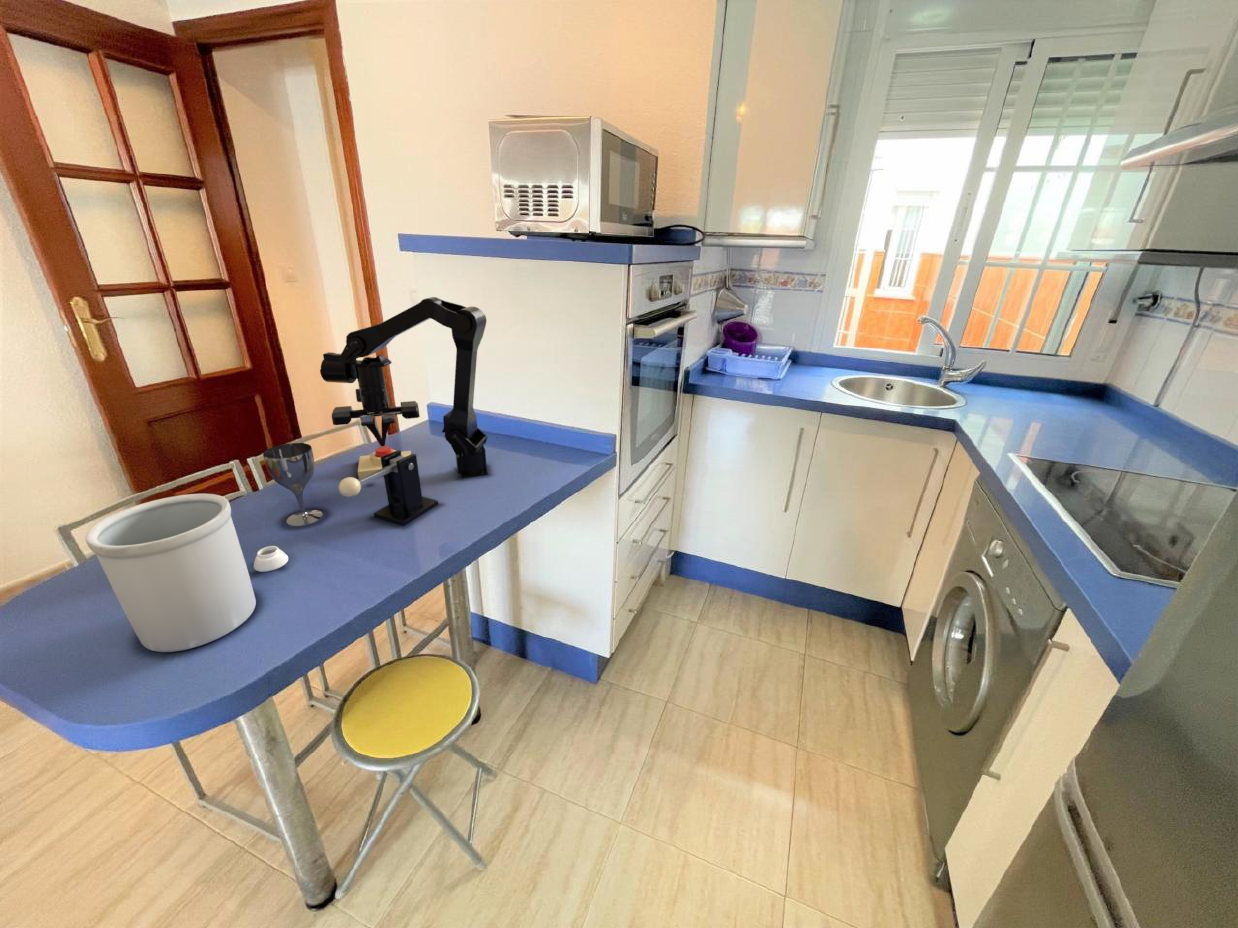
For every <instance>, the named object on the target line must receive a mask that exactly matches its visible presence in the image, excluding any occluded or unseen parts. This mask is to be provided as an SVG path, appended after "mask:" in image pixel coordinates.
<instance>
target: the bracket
mask: <svg viewBox="0 0 1238 928" xmlns="http://www.w3.org/2000/svg"><path fill="white" fill-rule="evenodd" d="M401 452H402V451H401V450H398V449H397V451H394V452H392V453H390V454H388V455H385V456H383V457H381V464H382V468H384V467H386V466H389V465H390V460H391V459H393V458H396V457H398V456H401ZM396 464H397V470H398V472H393V471H392V472H390V473H388V474H386V475H383V480H384V485H385V491H386V497H387V503H388V504H387V505H385V506H383V507H382V508H380V509H377V510H376V511H375V512H373V518H374V519H377V520H382V521H386V522H388V523H392V524H394V525H395V524H396V525H399V526H403V527H405V526H407V525H408V524H410V523H411V522H413V521H415V520H416V519H418V518H419V517H421V516H423V515H425V514H426V513H428V512H430V511H431V510H432V509H434V508H435V507H437V506H439V500H437V499H434V498H430V497H426V496H423V495H422V487H421V480H420V473H419V466H418V459H417V454H415V453H411V455H409V456H406V457H404V458H402V459H400V460H398V461H396Z"/></svg>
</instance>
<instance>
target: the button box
mask: <svg viewBox="0 0 1238 928" xmlns="http://www.w3.org/2000/svg"><path fill="white" fill-rule="evenodd" d="M391 450H392V452H394V451H397V450H398V449H397V450H396V449H393V448H391ZM411 454H412V452H411V450H404V451H401V456H404V457H406V456H409V455H411ZM380 469H382V464H381V457H376V451H373V452H371V453H370V454H367V455H360V456H359V459H358V466H357V477H358V479H360V478H362V477H364V476H366V475H369V474H371V473H373V472H375V471H378V470H380Z"/></svg>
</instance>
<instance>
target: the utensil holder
mask: <svg viewBox="0 0 1238 928" xmlns="http://www.w3.org/2000/svg"><path fill="white" fill-rule="evenodd" d="M231 514H232V507H231V505H230V501H229V500H228V499H227V498H225V497H224V496H222V495H219V494H214V493H190V494H182V495H173V496H168V497H164V498H159V499H155V500H151V501H146V502H143V503H141V504H137V505H133V506H131V507H128V508H125V509H123V510H119V511H117V512H115V513H113V514H111V515H109V516H107V517H105V518H103V519H101V520H100V521H98V522H97V523H95V524H94V525H92V527H91V528H90V529H88V531H87V532H86V534H85V537H84V538H85V542H86V544H87V547H88V548H89V550H90V551H91V552H92V553H94V554H95V555H96V557H97V560H98V562H99V564H100V565H101V568H102V569H103V572H104V574H105V576H106V578H107V580H108V582H109V584H110V587H111V589H112V590H113V592H114V595H115V596H116V599H117V600H118V602H119V604H120V607H121V608H122V610H123V612H124V614H125V616H126V618H127V620H128V622H129V623H130V625H131V627H132V629H133V631H134V633H135V635H136V636H137V639H138V640H139V641H140V643H141V645H142V646H143V647H144V648H146V649H147V650H149V651H153V652H157V653H173V652H180V651H186V650H191V649H193V648H197V647H200V646H204V645H206V644H209V643H211V642H213V641H216V640H218V639H220V638H223V637H224V636H226V635H227V634H230V633H231V632H233V631H234V630H236V629H237V628H238V627H239V626H241V625H243V623H245V622H246V621H247V620H248V619H249V618H250V617H251V615H252V614H253V612H254V611H255V608H256V604H257V600H256V596H255V591H254V588H253V585H252V581H251V577H250V573H249V570H248V567H247V563H246V560H245V557H244V553H243V550H242V547H241V544H240V540H239V537H238V533H237V531H236V528H235V525H234V522H233V519H232V515H231Z"/></svg>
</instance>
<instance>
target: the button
mask: <svg viewBox="0 0 1238 928" xmlns="http://www.w3.org/2000/svg"><path fill="white" fill-rule="evenodd" d="M391 449H392V447H390V446H387V445H385V446H380V447H377V448H375V451H376V457H383V456H385V455H388V454H390V453H392V450H391ZM375 451H374V452H375Z"/></svg>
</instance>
